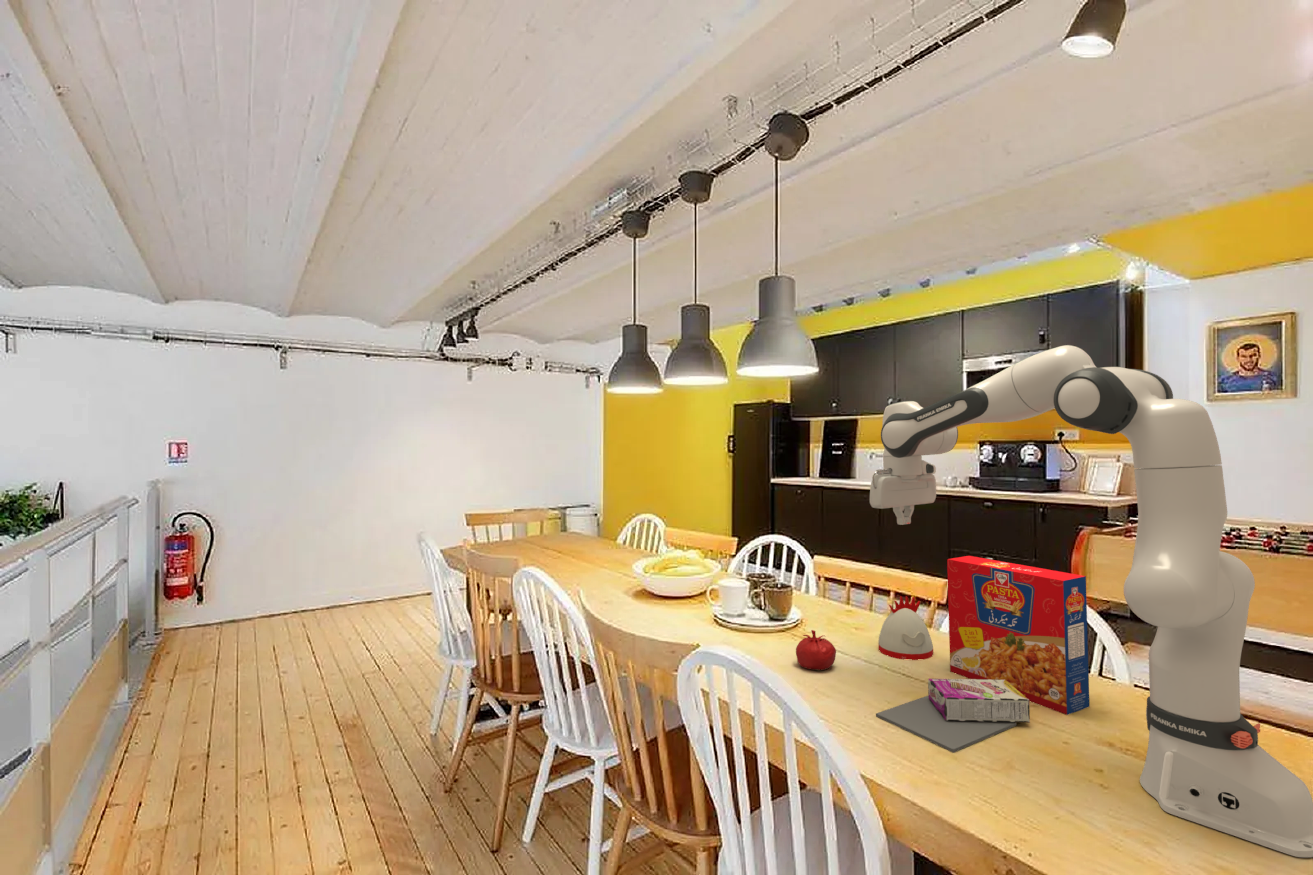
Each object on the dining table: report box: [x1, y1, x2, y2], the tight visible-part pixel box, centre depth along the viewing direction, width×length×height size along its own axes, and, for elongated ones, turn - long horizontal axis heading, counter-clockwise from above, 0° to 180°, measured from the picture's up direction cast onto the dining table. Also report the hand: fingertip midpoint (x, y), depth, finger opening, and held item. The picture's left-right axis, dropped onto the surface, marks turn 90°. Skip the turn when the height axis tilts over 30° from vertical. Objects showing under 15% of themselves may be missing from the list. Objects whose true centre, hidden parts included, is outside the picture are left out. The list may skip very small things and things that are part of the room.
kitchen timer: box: [877, 595, 934, 661], centre depth 170 cm, size 14×14×15 cm
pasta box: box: [946, 555, 1090, 716], centre depth 144 cm, size 28×8×28 cm, turn 26°
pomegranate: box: [795, 629, 837, 671], centre depth 160 cm, size 10×10×9 cm
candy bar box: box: [927, 678, 1031, 724], centre depth 131 cm, size 11×5×16 cm
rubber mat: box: [875, 694, 1017, 754], centre depth 128 cm, size 18×20×1 cm
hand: (904, 524), depth 153 cm, fingers closed
